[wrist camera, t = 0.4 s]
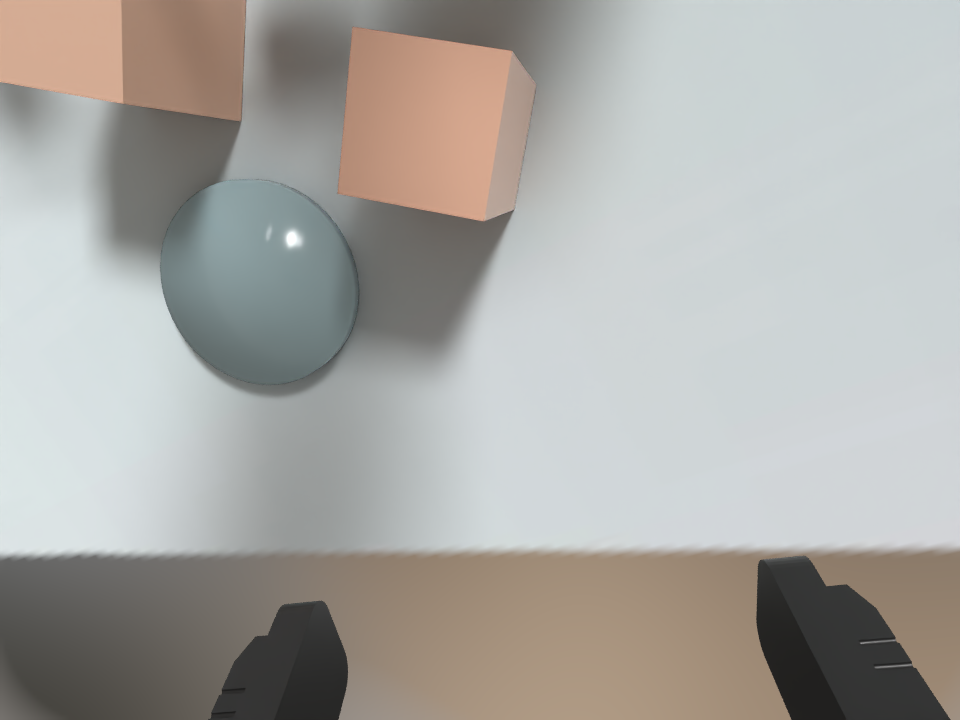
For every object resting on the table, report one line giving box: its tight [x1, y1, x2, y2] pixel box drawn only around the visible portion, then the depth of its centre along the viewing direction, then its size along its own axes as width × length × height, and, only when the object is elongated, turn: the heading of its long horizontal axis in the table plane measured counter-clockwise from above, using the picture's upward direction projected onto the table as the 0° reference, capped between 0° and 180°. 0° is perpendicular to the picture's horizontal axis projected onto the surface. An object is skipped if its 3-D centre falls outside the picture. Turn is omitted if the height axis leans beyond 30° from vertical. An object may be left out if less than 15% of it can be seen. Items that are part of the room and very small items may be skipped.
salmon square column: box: [0, 0, 246, 121], centre depth 30 cm, size 6×6×9 cm
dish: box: [160, 179, 359, 385], centre depth 36 cm, size 12×12×1 cm
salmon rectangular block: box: [338, 27, 537, 221], centre depth 28 cm, size 6×6×9 cm
